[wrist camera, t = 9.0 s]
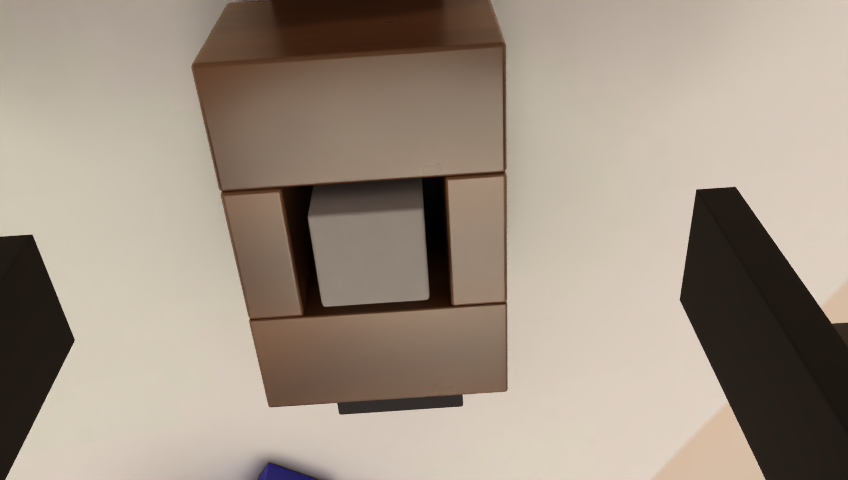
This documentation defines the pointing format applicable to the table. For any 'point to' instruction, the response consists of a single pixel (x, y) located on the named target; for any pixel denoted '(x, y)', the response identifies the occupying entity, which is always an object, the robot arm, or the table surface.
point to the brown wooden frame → (361, 162)
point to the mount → (281, 474)
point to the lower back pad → (375, 255)
